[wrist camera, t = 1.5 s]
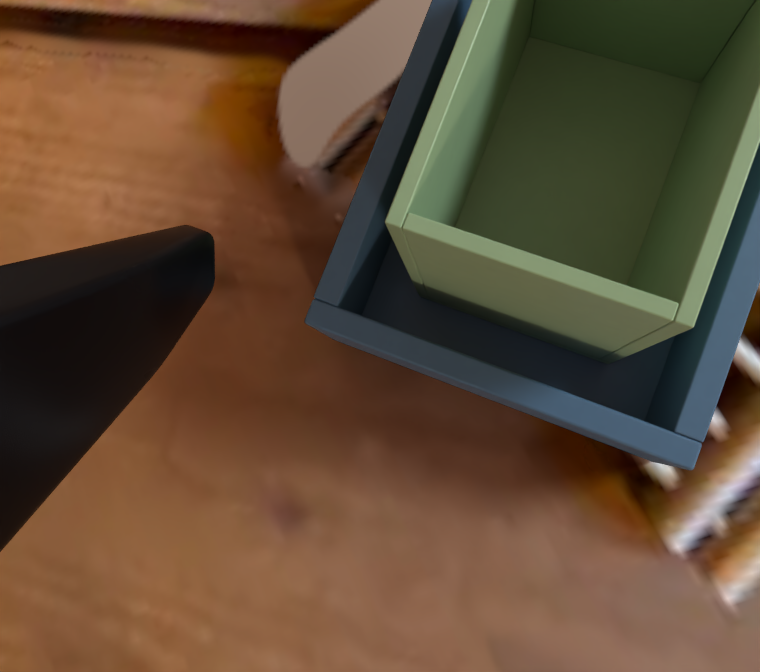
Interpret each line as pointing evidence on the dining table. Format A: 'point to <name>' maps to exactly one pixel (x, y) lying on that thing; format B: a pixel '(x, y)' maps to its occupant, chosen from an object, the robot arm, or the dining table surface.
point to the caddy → (583, 167)
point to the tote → (508, 347)
